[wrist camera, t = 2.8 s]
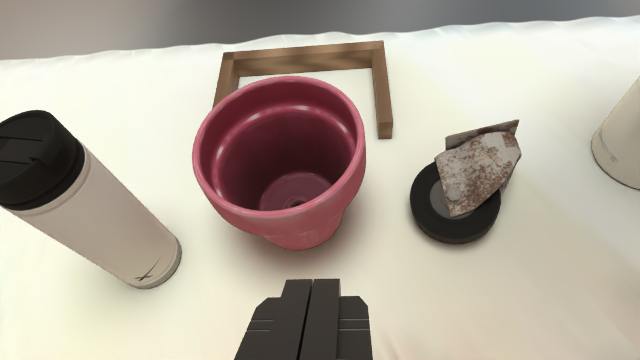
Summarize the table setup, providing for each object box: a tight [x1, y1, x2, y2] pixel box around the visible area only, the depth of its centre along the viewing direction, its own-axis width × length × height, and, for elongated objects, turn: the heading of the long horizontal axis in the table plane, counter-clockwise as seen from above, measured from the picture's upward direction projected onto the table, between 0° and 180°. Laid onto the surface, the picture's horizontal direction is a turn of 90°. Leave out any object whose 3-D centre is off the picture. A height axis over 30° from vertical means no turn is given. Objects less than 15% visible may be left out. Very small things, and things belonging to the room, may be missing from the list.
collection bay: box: [212, 41, 393, 139], centre depth 49 cm, size 21×14×3 cm, turn 90°
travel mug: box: [0, 110, 181, 289], centre depth 32 cm, size 6×7×20 cm
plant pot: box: [192, 76, 366, 250], centre depth 37 cm, size 14×14×13 cm
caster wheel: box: [410, 120, 521, 244], centre depth 39 cm, size 7×11×10 cm
